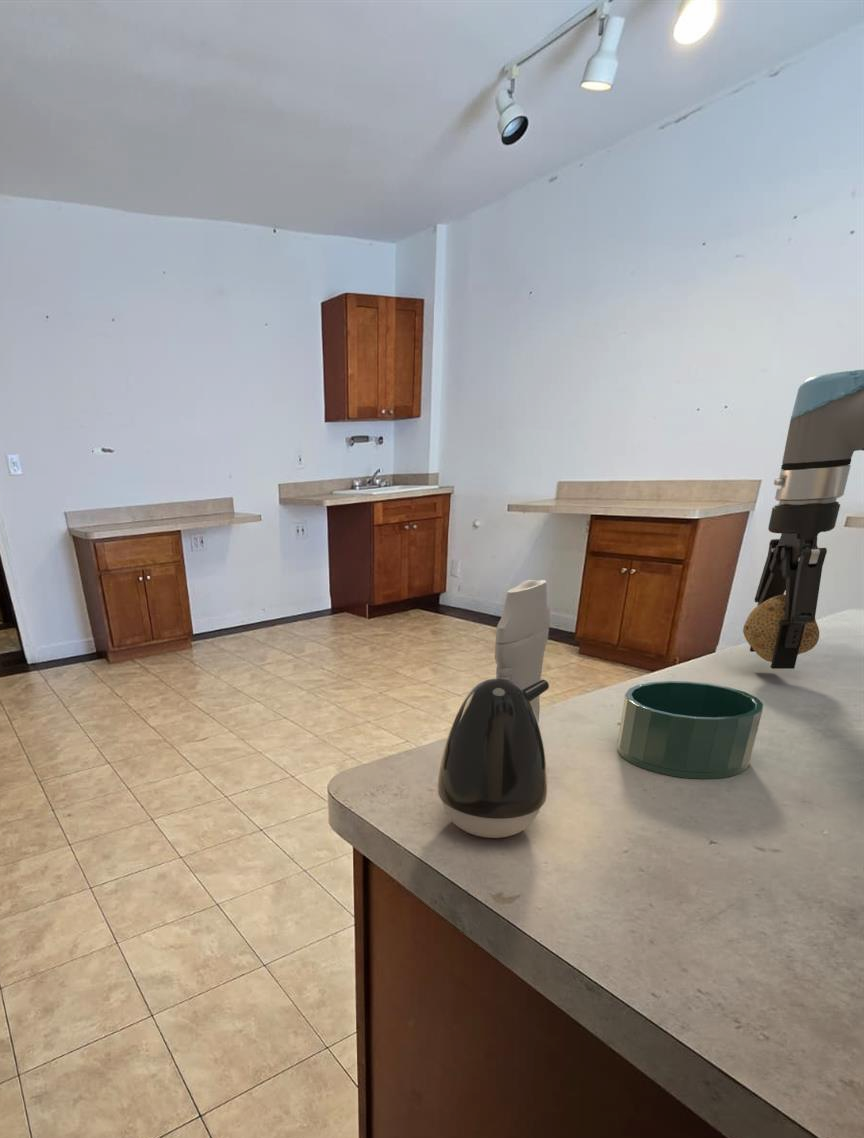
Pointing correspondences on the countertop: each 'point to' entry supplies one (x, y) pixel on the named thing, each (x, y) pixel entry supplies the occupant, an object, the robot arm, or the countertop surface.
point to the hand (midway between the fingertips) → (770, 659)
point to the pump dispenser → (494, 761)
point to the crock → (689, 729)
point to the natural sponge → (774, 628)
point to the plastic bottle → (523, 636)
